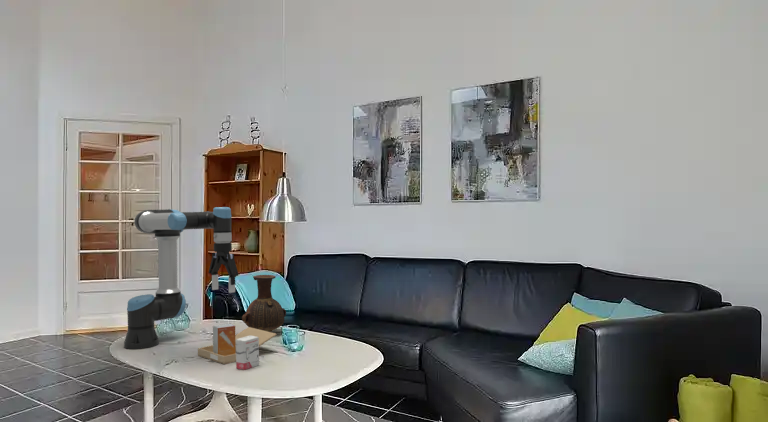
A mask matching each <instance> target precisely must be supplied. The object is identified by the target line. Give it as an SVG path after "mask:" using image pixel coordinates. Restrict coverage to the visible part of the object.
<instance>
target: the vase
mask: <svg viewBox="0 0 768 422" xmlns="http://www.w3.org/2000/svg"><path fill="white" fill-rule="evenodd" d="M252 277H253V280H254V281H256V285H257V297H256V298H255V299H253V300H252V301H251V302H250V304H249V305H248V306H247V308H246V310H245V313H244V314H243V315H242V316H241V321H242V322H243V323H244V324H245V325H246V326H247V328H248V327H251V328H255V329H259V330H263V331H267V332H271V333H272V331H275V330H277V329H279V328H280V327H281V326H282V325H284V323H285V317H286V316H287V311H286V309H285V308H284V307H282V305H281V304H280V302H279V301H278V300H277V299H274V298H273V295H272V283H273V280H274V279H276V277H277V276H276V275H274V274H256V275H253V276H252Z"/></svg>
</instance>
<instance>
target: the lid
mask: <svg viewBox="0 0 768 422" xmlns="http://www.w3.org/2000/svg"><path fill="white" fill-rule="evenodd" d="M246 336H256V337H259V347H261V346H262V345H264V344H265V343H267V342H268V341H270V340H271V339H272V338H274V337H276V336H277V333H275V332H272V331H271V332H267V331H263V330H259V329H255V328H251V327H248V326H247V327H246V328H245V329H244V330H241V331H240V332H238V333H237V334H235V346H236V340H237V339H239V338H242V337H246Z"/></svg>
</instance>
